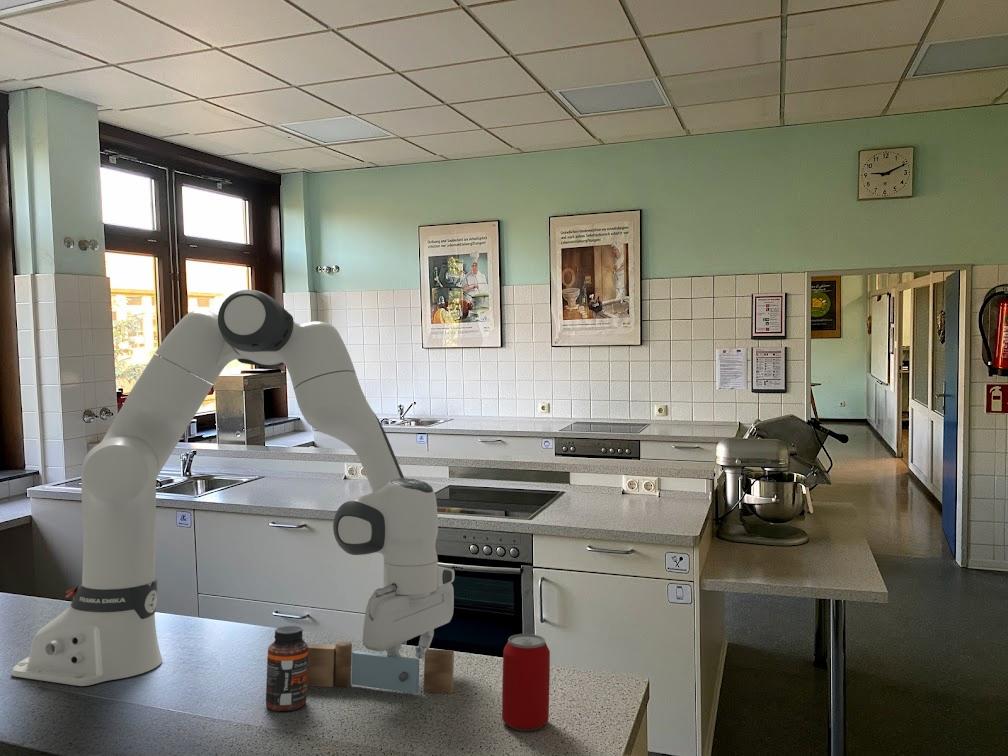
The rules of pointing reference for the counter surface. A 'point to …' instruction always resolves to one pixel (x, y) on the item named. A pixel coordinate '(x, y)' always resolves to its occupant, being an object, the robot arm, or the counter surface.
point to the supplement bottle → (287, 670)
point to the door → (385, 671)
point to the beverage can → (525, 682)
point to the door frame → (335, 661)
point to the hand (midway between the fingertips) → (409, 663)
